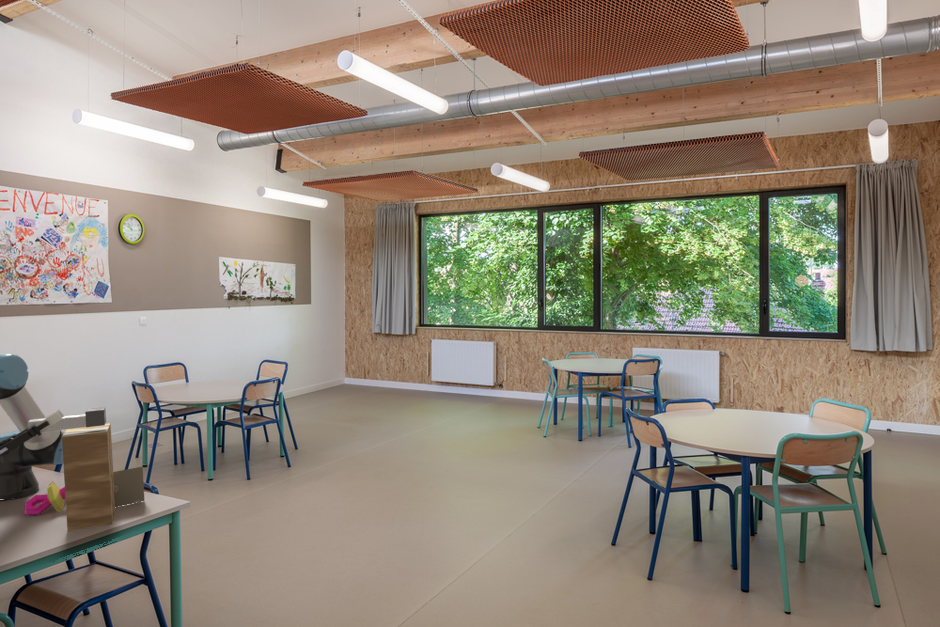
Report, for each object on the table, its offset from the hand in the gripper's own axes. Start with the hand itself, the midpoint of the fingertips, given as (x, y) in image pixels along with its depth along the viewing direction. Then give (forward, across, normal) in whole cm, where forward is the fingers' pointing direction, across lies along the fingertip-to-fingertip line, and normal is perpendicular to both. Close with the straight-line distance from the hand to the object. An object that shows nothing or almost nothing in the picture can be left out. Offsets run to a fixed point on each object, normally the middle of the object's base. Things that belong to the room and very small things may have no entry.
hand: (60, 414), depth 185 cm
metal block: (-1, 0, -5) cm, 5 cm away
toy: (-24, -22, -29) cm, 44 cm away
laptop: (-9, -19, -38) cm, 43 cm away
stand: (-13, -3, -35) cm, 37 cm away
